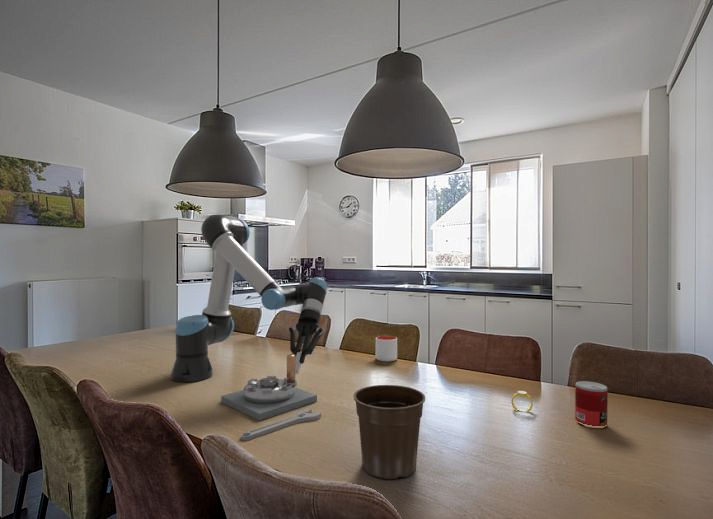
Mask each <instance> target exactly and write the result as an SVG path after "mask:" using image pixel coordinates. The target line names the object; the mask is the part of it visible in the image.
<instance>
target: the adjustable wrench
mask: <svg viewBox="0 0 713 519" xmlns="http://www.w3.org/2000/svg"><path fill="white" fill-rule="evenodd" d="M321 418H322V411H321V410H318V411H317V412H316V413H315V412H312V408H306V409H302V410H300V411H299V410H298V411H297V413H295V415H294V416H290V417H288V418H285V419H282V420H280V421H276V422H273V423H270V424H267V425H263V426H260V427H258V428H254V429H251V430H248V431H244V432H242V433H241V434H240V440H242V441H249V440H252V439H256V438H258V437H261V436H264V435H265V434H270V433H273V432H275V431H278V430H281V429H283V428H286V426H287V427H289V426H292V425H295V424H298V423H304V422H310V421H312V422H313V421H317V420H319V419H321Z"/></svg>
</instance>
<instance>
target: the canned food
mask: <svg viewBox="0 0 713 519" xmlns="http://www.w3.org/2000/svg"><path fill="white" fill-rule="evenodd" d="M574 387H575V388H574V389H575V390H574V392H575V394H574V396H575V398H574V400H575V403H574V404H575V406H574V407H575V410H574V411H575V412H574V414H575V416H574V418H575V421H576V420H577V421H578V422H581V423H583V424H587V425H592V426H605V425H607V426H608V405H609V404H608V395H609V394H608V391H609V390H608V387H607V386H606V384H603V383H599V382H595V381H588V380H580V381H577V382H575V385H574Z"/></svg>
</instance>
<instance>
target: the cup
mask: <svg viewBox="0 0 713 519" xmlns="http://www.w3.org/2000/svg"><path fill="white" fill-rule="evenodd" d="M375 359H376V360H378V361H380V362H384V363H385V362H394V361H396V360H397V359H398V337H396V336H392V335H379V336H378V335H377V336H376V337H375Z"/></svg>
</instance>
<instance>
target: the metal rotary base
mask: <svg viewBox="0 0 713 519" xmlns="http://www.w3.org/2000/svg"><path fill="white" fill-rule="evenodd" d="M297 385H298V384H297V380H296V373H295V354H292V353H291V354H289V353H288V354H286V378H283V379H281V378H280V379H279V378H277V376H276V375H267V376H266V377H263V378H261V379H260V380H258V379H257V378H251V379H248V380H247V384H246V385H245V386H244V387H243V390H244V399H245V400H246V401H247V402H250V403H254V404H275V403H280V402H284V401H287V400H289V399H291V398H292V397H293V396H294V387H297Z"/></svg>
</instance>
